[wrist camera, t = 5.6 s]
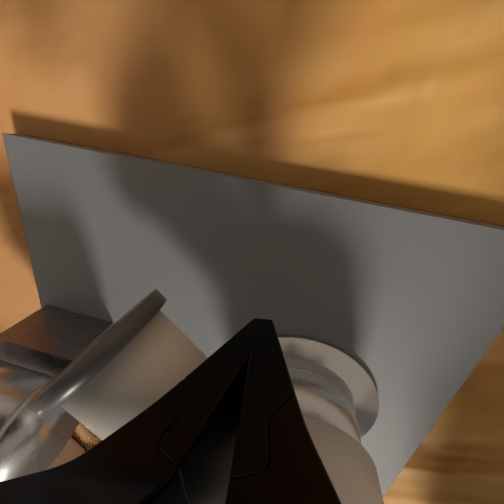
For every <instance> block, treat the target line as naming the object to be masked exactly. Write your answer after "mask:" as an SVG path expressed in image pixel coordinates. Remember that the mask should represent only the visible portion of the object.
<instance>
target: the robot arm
mask: <svg viewBox="0 0 504 504" xmlns="http://www.w3.org/2000/svg"><path fill="white" fill-rule="evenodd" d="M0 504H341V501H340V499H339V497H338V495H337V493H336V491H335V488H334V486H333V484H332V482H331V480H330V478H329V476H328V473H327V471H326V469H325V467H324V465H323V463H322V460H321V458H320V456H319V454H318V452H317V450H316V447H315V445H314V443H313V440H312V438H311V436H310V433H309V431H308V429H307V426H306V423H305V421H304V418H303V415H302V412H301V409H300V406H299V403H298V400H297V397H296V394H295V391H294V387H293V384H292V381H291V378H290V374H289V371H288V368H287V365H286V362H285V358H284V355H283V352H282V349H281V345H280V342H279V339H278V336H277V333H276V329H275V326H274V323H273V320H271V319H260V318H254V319H252V320H251V321H250V322H249V323H248V324H247V325H246V326H244V327H243V328H242V329H241V330H240V331H239V332H237V333H236V334H235V335H234V336H233V337H232V338H230V339H229V340H228V341H227V342H226V343H225V344H223V345H222V346H221V347H220V348H219V349H218V350H216V351H215V352H214V353H213V354H212V355H211V356H209V357H208V358H207V359H206V360H205V361H204V362H202V363H201V364H200V365H199V366H198V367H197V368H195V369H194V370H193V371H192V372H191V373H190V374H189V375H187V376H186V377H185V380H184V379H183V380H181V381H180V382H179V383H178V384H177V385H176V386H174V387H173V388H172V389H171V390H170V391H168V392H167V393H166V394H165V395H163V396H162V397H161V398H160V399H159V400H157V401H156V402H155V403H153V404H152V405H151V406H149V407H148V408H147V409H145V410H144V411H143V412H141V413H140V414H139V415H137V416H136V417H134V418H133V419H132V420H130V421H129V422H127V423H126V424H125V425H123V426H122V427H120V428H119V429H118V430H116V431H115V432H113V433H112V434H111V435H109V436H108V437H107V438H105V439H104V440H102V441H101V442H100V443H98V444H97V445H95V446H94V447H93V448H91V449H90V450H88V451H87V452H85V453H84V454H82V455H80V456H78V457H77V458H75V459H73V460H71V461H69V462H67V463H65V464H62V465H59V466H57V467H54V468H51V469H47V470H43V471H40V472H36V473H32V474H28V475H25V476H21V477H17V478H14V479H10V480H6V481H2V482H0Z"/></svg>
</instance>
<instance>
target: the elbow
mask: <svg viewBox="0 0 504 504" xmlns="http://www.w3.org/2000/svg"><path fill="white" fill-rule="evenodd" d="M166 300H167V299H166V298H165V297H164V296H163V295H162V294H161V293H160V292H159V291H158V290H157V289H155V290H153V291H152V292H151V293H150V294H148V295H147V296H146V297H145V298H143V299H142V300H141V301H140V302H139V303H137V304H136V305H135V306H134V307H133V308H132V309H131V310H129V311H128V312H127V313H126V314H125V315H124V316H122V317H121V318H120V319H119V320H118V321H117V322H116V323H114V324H113V325H112V326H111V327H110V328H109V329H108V330H107V331H105V332H104V333H103V334H102V335H101V336H100V337H99V338H98V339H97V340H95V341H94V342H93V343H92V344H91V345H90V346H89V347H88V348H87V349H85V350H84V351H83V352H82V353H81V354H80V355H79V356H78V357H77V358H76V359H75V360H73V361H72V362H71V363H70V364H69V365H68V366H67V367H66V368H65V369H64V370H63V371H61V372H60V373H59V374H58V375H57V376H56V377H55V378H54V379H53V380H52V381H51V382H50V383H49V384H48V385H47V386H46V387H45V388H43V389H42V390H41V391H40V392H39V393H38V394H37V395H36V396H35V397H34V398H33V399H32V400H31V401H30V402H29V403H28V405H27V407H29V408H30V409H31V410H32V411H34V412H35V413H36V414H37V415H39V416H40V417H41V418H45V417H47V416H48V415H50V414H51V413H53V412H54V411H55V410H57V409H58V408H59V407H60V406H61V407H62V408H63V409H64V410H66V411H67V412H68V413H69V414H71V415H72V416H73V417H74V418H75V419H77V420H78V421H79V422H80V423H81V424H83V425H84V426H85V427H86V428H87V429H89V430H90V431H91V432H92V433H94V434H95V435H96V436H97V437H98V438H100V439H101V440H104V439H105V438H107V437H108V436H109V435H111V434H112V433H113V432H115V431H116V430H118V429H119V428H120V427H122V426H123V425H125V424H126V423H127V422H129V421H130V420H132V419H133V418H134V417H136V416H137V415H139V414H140V413H141V412H143V411H144V410H145V409H147V408H148V407H149V406H151V405H152V404H153V403H155V402H156V401H157V400H159V399H160V398H161V397H162V396H163V395H165V394H166V393H167V392H168V391H170V390H171V389H172V388H173V387H174V386H176V385H177V384H178V383H179V382H180V381H181V380H183V379H184V380H185V377H186V376H187V375H189V374H190V373H191V372H192V371H193V370H194V369H195V368H197V367H198V366H199V365H200V364H201V363H202V362H204V361H205V360H206V359H207V358H208V357H207V356H206V355H205V354H204V353H203V352H202V351H201V350H200V349H199V348H198V347H197V346H196V345H195V344H194V343H193V342H192V341H191V340H190V339H189V338H188V337H187V336H186V335H185V334H184V333H183V332H182V331H181V330H180V329H179V328H178V327H177V326H176V325H175V324H174V323H173V322H172V321H171V320H170V319H169V318H168V317H167V316H166V315H165V314H164V313H163V312H162V311H161V310H160V309H161V308H162V306H163V305H164V304H165V302H166ZM303 418H304V421H305V423H306V426H307V429H308V431H309V433H310V436H311V438H312V440H313V443H314V445H315V447H316V450H317V452H318V454H319V456H320V458H321V460H322V463H323V465H324V467H325V469H326V471H327V473H328V476H329V478H330V480H331V482H332V484H333V486H334V488H335V491H336V493H337V495H338V497H339V499H340V501H341V504H384V501H383V497H382V492H381V487H380V483H379V478H378V473H377V469H376V466H375V463H374V461H373V459H372V458H371V456H370V454H369V453H368V452H367V451H366V449H365V448H364V447H363V446H362V445H361V444H360V443H359V442H358V441H357V440H355V439H354V438H353V437H351V436H350V435H349V434H347V433H345V432H344V431H342V430H340V429H339V428H337V427H335V426H333V425H331V424H329V423H326V422H324V421H321V420H318V419H316V418H312V417H308V416H305V415H303Z"/></svg>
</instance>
